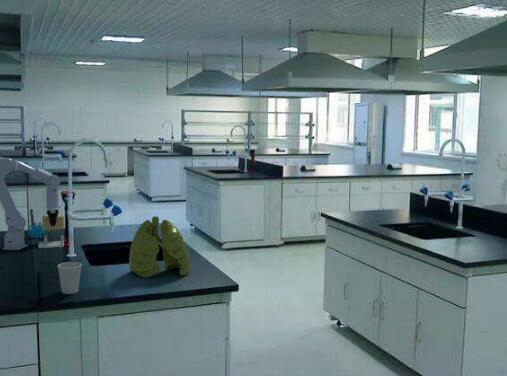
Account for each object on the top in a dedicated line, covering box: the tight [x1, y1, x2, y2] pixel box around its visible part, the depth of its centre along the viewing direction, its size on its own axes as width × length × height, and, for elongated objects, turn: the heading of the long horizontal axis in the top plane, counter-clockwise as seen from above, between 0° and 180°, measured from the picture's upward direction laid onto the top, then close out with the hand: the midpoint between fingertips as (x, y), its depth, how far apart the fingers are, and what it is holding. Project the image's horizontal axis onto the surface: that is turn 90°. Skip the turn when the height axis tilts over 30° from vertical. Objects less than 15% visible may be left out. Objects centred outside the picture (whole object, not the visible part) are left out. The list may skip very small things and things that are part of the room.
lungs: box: [128, 216, 191, 278], centre depth 228 cm, size 25×16×24 cm, turn 105°
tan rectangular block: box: [41, 215, 65, 230], centre depth 279 cm, size 10×4×6 cm, turn 110°
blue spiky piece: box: [27, 222, 51, 240], centre depth 291 cm, size 11×6×10 cm
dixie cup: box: [57, 261, 83, 295], centre depth 202 cm, size 8×8×10 cm
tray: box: [37, 234, 65, 249], centre depth 274 cm, size 14×10×4 cm
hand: (52, 224), depth 279 cm, fingers closed on tan rectangular block, 4 cm apart
